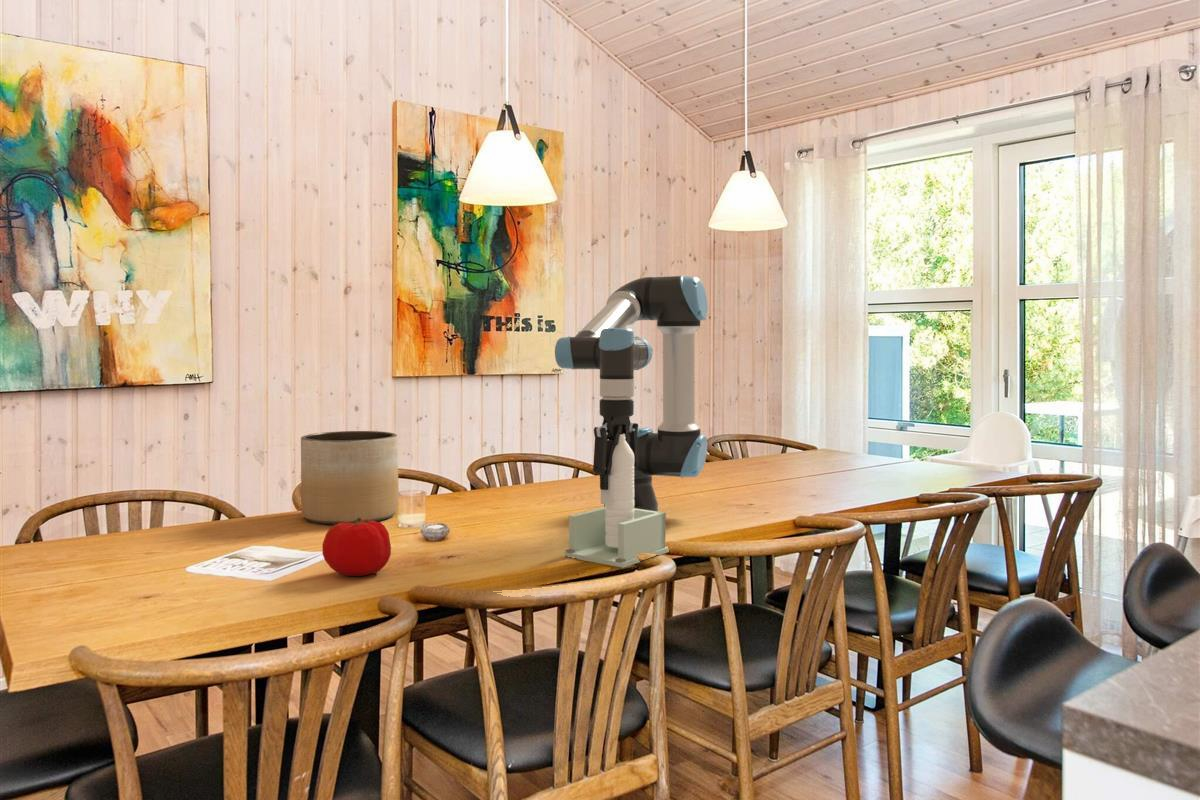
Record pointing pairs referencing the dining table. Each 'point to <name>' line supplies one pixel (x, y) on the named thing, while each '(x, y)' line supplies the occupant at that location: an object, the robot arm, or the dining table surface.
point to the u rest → (632, 537)
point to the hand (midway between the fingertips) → (616, 501)
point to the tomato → (357, 547)
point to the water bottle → (620, 491)
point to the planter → (349, 476)
